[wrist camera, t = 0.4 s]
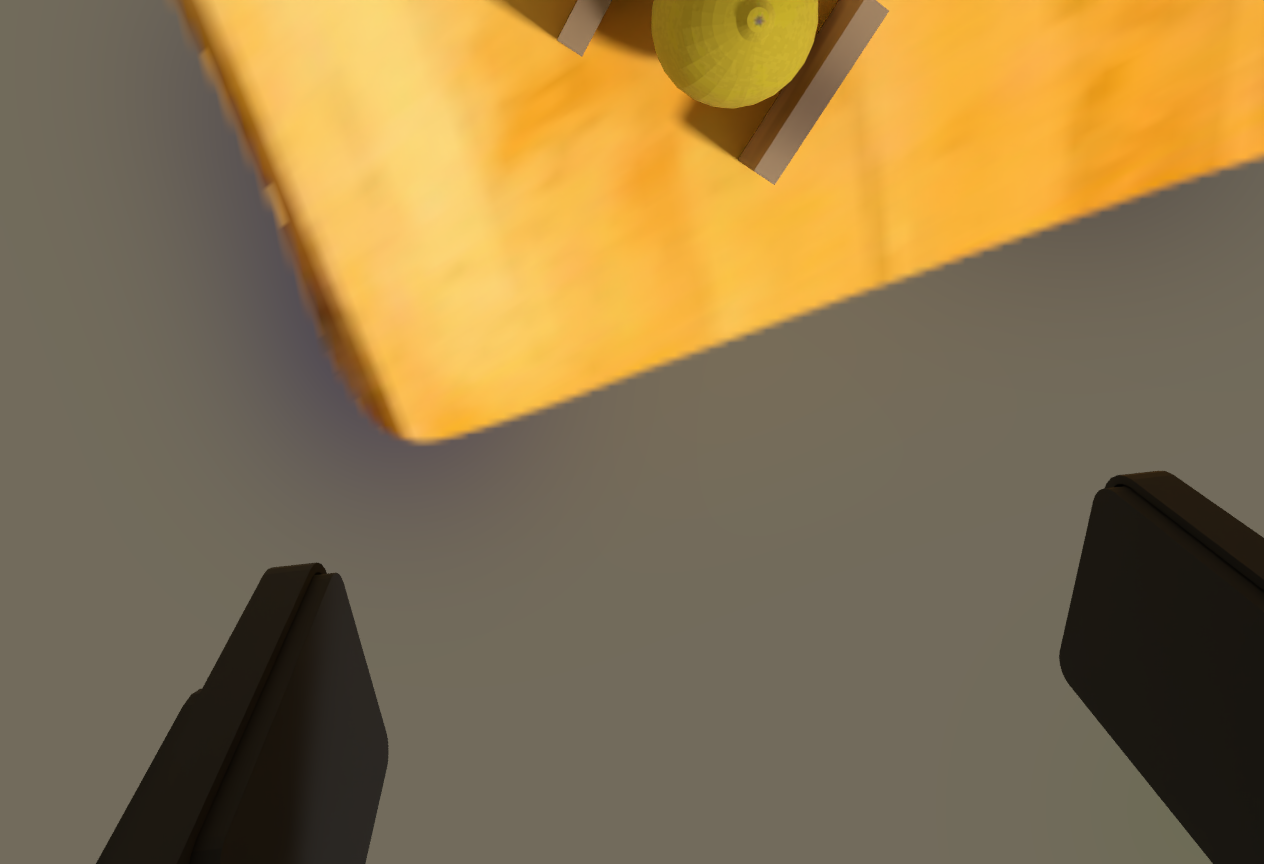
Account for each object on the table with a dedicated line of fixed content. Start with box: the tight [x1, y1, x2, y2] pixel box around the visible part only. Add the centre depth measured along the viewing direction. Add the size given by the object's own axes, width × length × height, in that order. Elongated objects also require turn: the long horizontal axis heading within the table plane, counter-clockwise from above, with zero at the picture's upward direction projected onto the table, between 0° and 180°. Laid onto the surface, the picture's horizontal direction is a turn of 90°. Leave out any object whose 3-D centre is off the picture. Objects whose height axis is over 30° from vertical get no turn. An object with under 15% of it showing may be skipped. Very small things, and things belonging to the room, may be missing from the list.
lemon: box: [651, 0, 818, 109], centre depth 27 cm, size 6×6×8 cm
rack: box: [557, 0, 889, 185], centre depth 30 cm, size 7×10×3 cm
